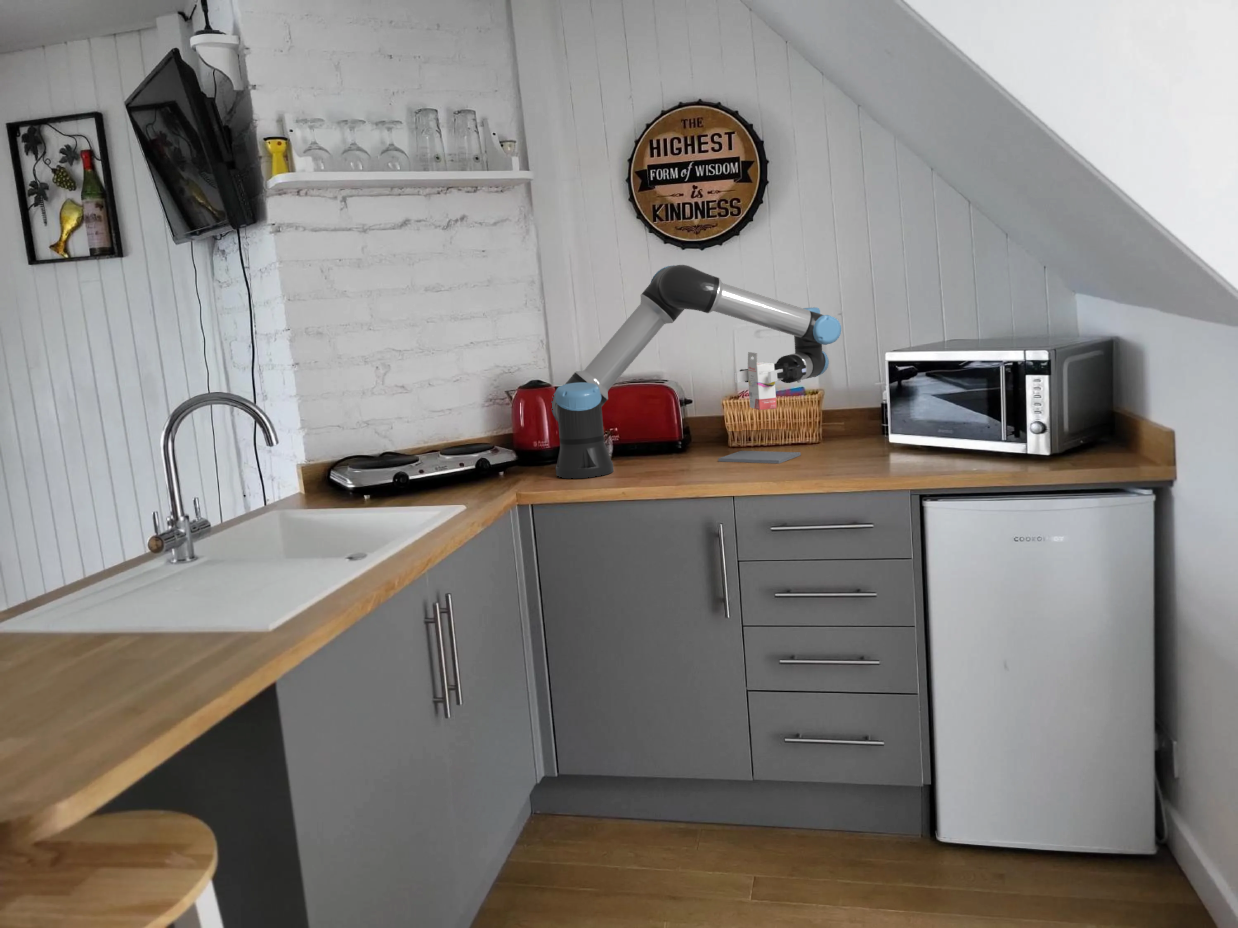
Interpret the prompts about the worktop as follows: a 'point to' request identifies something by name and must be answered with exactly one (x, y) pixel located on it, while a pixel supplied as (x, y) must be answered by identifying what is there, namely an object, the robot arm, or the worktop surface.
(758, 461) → the charcoal mat
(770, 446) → the worktop surface
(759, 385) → the ink cartridge box
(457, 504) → the worktop surface
